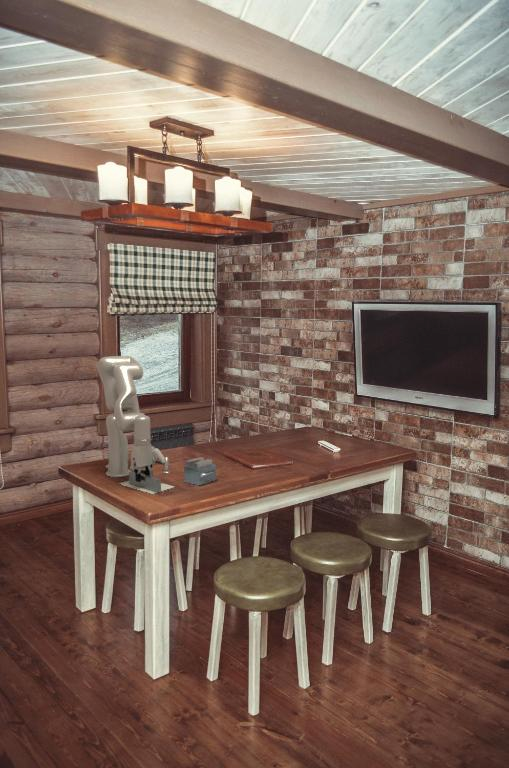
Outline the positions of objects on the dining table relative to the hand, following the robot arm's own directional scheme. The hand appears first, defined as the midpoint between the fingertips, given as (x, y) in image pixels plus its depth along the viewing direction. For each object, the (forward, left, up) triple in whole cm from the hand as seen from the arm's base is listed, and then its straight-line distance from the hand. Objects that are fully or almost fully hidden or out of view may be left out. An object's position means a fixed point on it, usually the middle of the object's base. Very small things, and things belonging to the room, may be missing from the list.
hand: (142, 479), depth 278 cm
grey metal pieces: (+3, +25, -4) cm, 26 cm away
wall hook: (-29, +34, -4) cm, 45 cm away
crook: (+1, +3, -3) cm, 5 cm away
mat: (-1, +3, -4) cm, 5 cm away
